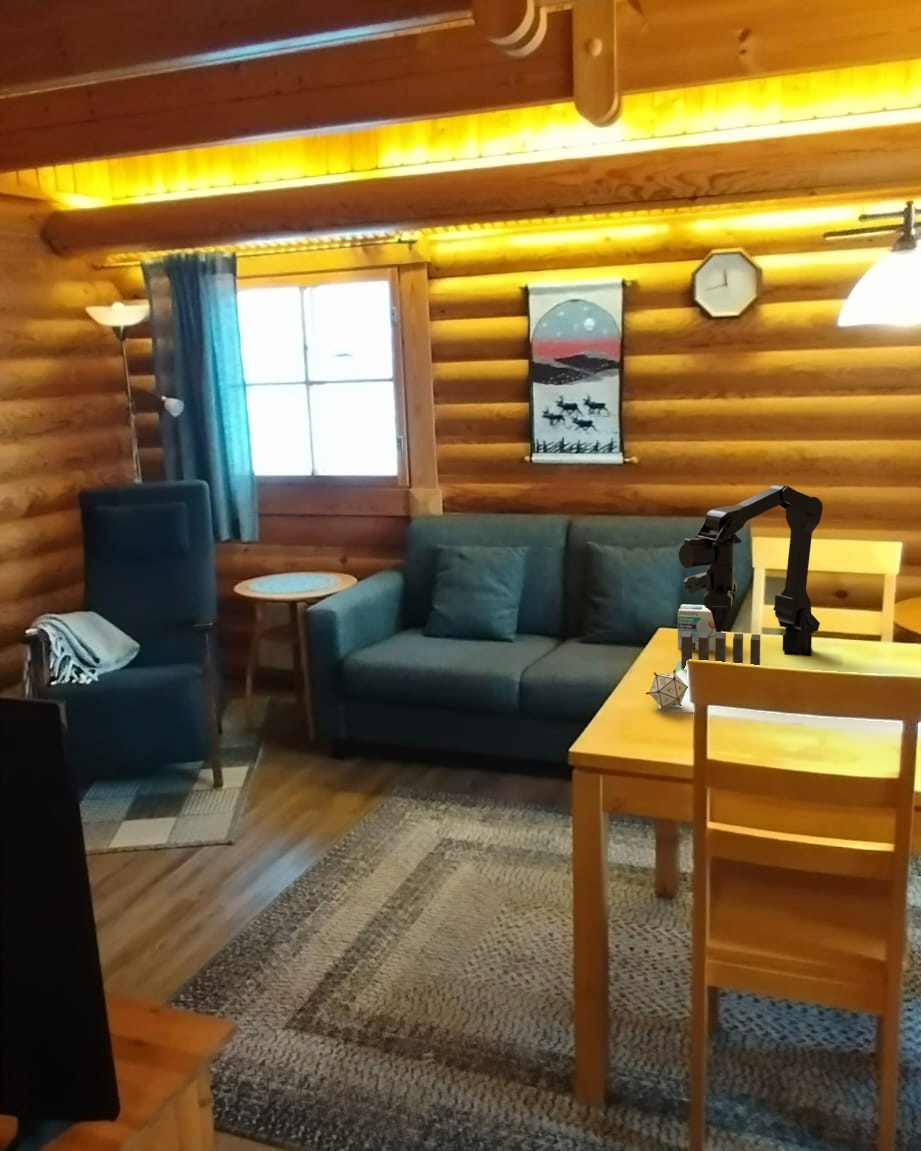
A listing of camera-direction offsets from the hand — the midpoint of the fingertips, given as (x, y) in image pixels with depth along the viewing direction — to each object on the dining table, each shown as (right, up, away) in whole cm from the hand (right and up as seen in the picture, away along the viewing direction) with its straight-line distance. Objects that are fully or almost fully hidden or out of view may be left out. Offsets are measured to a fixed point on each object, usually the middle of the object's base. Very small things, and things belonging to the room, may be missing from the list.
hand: (720, 627), depth 244 cm
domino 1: (-7, -10, +5) cm, 13 cm away
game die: (-17, -17, -23) cm, 33 cm away
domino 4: (+4, -10, +1) cm, 11 cm away
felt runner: (+1, -10, +2) cm, 11 cm away
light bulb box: (0, -7, +20) cm, 21 cm away
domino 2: (-3, -10, +3) cm, 11 cm away
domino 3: (+1, -10, +2) cm, 10 cm away
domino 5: (+8, -10, 0) cm, 13 cm away
